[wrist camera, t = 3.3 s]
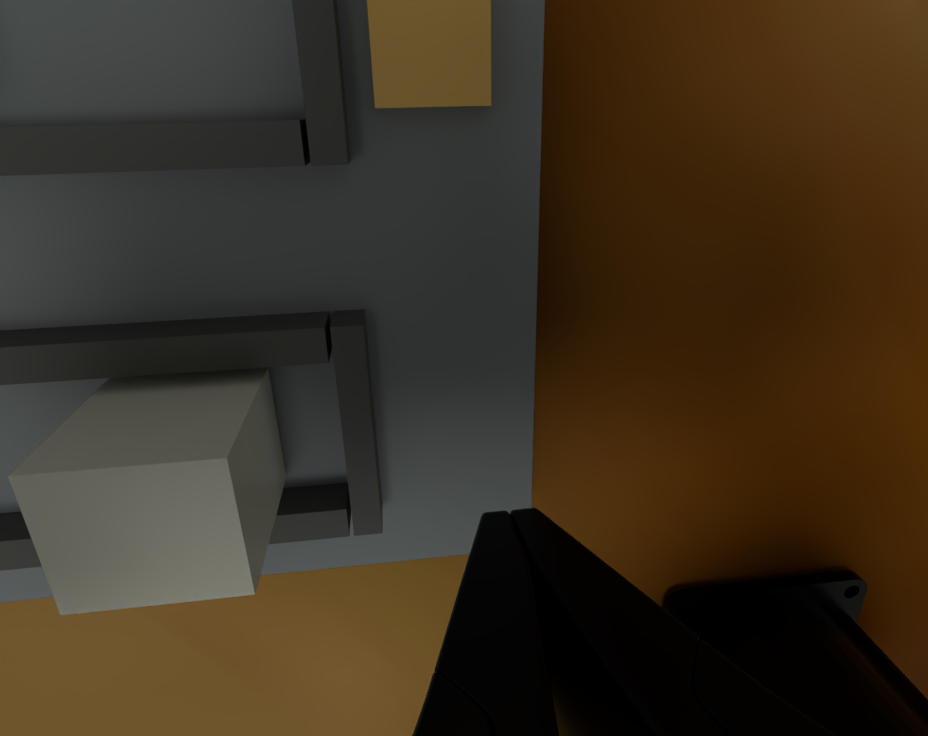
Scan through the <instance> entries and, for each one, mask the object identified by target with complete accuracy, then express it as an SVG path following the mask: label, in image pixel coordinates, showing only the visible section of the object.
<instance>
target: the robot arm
mask: <svg viewBox="0 0 928 736" xmlns="http://www.w3.org/2000/svg"><path fill="white" fill-rule="evenodd" d="M866 590H867V585H866V583H865V582H864V581H863V580H862V579H861V578H860V577H859V576H858V575H857V574H856V573H855V572H853V571H838V572H829V573H821V574H812V575H803V576H794V577H786V578H777V579H768V580H759V581H751V582H742V583H733V584H724V585H716V586H707V587H698V588H689V589H681V590H677V591H675V592H673V593H671V594H670V595H669V596H668V597H667V598H666V600H665V603H664V609H663V608H662V607H661V606H659V605H658V604H657V603H656V602H654V601H653V600H652V599H651V598H649V597H648V596H647V595H646V594H644V593H643V592H642V591H640V590H639V589H638V588H637V587H635V586H634V585H633V584H632V583H630V582H629V581H628V580H627V579H625V578H624V577H623V576H621V575H620V574H619V573H618V572H616V571H615V570H614V569H613V568H611V567H610V566H609V565H608V564H606V563H605V562H604V561H603V560H601V559H600V558H599V557H597V556H596V555H595V554H594V553H592V552H591V551H590V550H589V549H587V548H586V547H585V546H584V545H582V544H581V543H580V542H578V541H577V540H576V539H575V538H573V537H572V536H571V535H570V534H568V533H567V532H566V531H565V530H563V529H562V528H561V527H559V526H558V525H557V524H556V523H554V522H553V521H552V520H551V519H549V518H548V517H547V516H546V515H544V514H543V513H542V512H540V511H539V510H538V509H536V508H525V509H515V510H512V511H511V512H510V514H509V512H507V511H493V512H485V513H483V514H482V516H481V518H480V522H479V525H478V528H477V532H476V535H475V538H474V541H473V545H472V548H471V551H470V555H469V558H468V561H467V565H466V568H465V571H464V574H463V578H462V581H461V584H460V588H459V591H458V594H457V598H456V601H455V604H454V607H453V611H452V614H451V617H450V621H449V624H448V627H447V631H446V634H445V637H444V640H443V644H442V647H441V650H440V654H439V657H438V660H437V664H436V667H435V673H434V674H433V676H432V679H431V682H430V685H429V689H428V692H427V695H426V698H425V701H424V704H423V707H422V710H421V713H420V716H419V719H418V721H417V724H416V727H415V730H414V733H413V735H412V736H928V699H927V698H926V697H925V696H924V695H923V694H922V693H921V692H920V691H919V690H918V689H917V688H916V687H915V686H914V684H913V683H912V682H911V681H910V680H909V679H908V678H907V677H906V676H905V675H904V674H903V673H902V672H901V671H900V670H899V668H898V667H897V666H896V665H895V664H894V663H893V662H892V661H891V660H890V659H889V658H888V657H887V656H886V655H885V653H884V652H883V651H882V650H881V649H880V648H879V647H878V646H877V645H876V644H875V643H874V642H873V641H872V640H871V638H870V637H869V636H868V635H867V634H866V633H865V632H864V631H863V630H862V629H861V628H860V627H859V626H858V625H857V623H856V622H857V619H858V616H859V613H860V609H861V606H862V603H863V600H864V596H865V593H866ZM682 606H683V607H682Z"/></svg>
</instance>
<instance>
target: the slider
mask: <svg viewBox="0 0 928 736" xmlns="http://www.w3.org/2000/svg"><path fill="white" fill-rule="evenodd" d="M8 478H9V481H10V483H11V486H12V489H13V491H14V494H15V496H16V499H17V502H18V504H19V507H20V510H21V512H22V515H23V518H24V520H25V523H26V526H27V528H28V531H29V533H30V536H31V539H32V541H33V544H34V547H35V549H36V552H37V555H38V557H39V560H40V563H41V565H42V568H43V570H44V573H45V576H46V578H47V581H48V584H49V586H50V589H51V592H52V594H53V597H54V600H55V602H56V605H57V607H58V610H59V613H60V615H68V614H78V613H87V612H96V611H106V610H115V609H125V608H134V607H143V606H153V605H162V604H172V603H181V602H190V601H200V600H209V599H218V598H228V597H237V596H247V595H255V593H256V589H257V585H258V582H259V578H260V574H261V570H262V567H263V563H264V559H265V555H266V551H267V548H268V544H269V540H270V536H271V533H272V529H273V525H274V521H275V518H276V514H277V510H278V506H279V503H280V499H281V495H282V491H283V487H284V484H285V480H286V472H285V465H284V459H283V453H282V447H281V441H280V435H279V429H278V423H277V416H276V410H275V404H274V398H273V392H272V386H271V380H270V374H269V368H268V367H264V368H249V369H235V370H220V371H205V372H190V373H175V374H160V375H146V376H131V377H116V378H109V379H108V380H107V381H106V382H105V383H104V384H103V385H102V386H101V387H100V388H99V389H98V390H97V391H96V392H95V393H94V394H93V395H92V396H91V397H90V398H89V399H88V400H87V401H85V402H84V403H83V404H82V405H81V406H80V407H79V408H78V409H77V410H76V411H75V412H74V413H73V414H72V415H71V416H70V417H69V418H68V419H67V420H66V421H65V422H64V423H63V424H62V425H61V426H60V427H58V428H57V429H56V430H55V431H54V432H53V433H52V434H51V435H50V436H49V437H48V438H47V439H46V440H45V441H44V442H43V443H42V444H41V445H40V446H39V447H38V448H37V449H36V450H35V451H34V452H33V453H31V454H30V455H29V456H28V457H27V458H26V459H25V460H24V461H23V462H22V463H21V464H20V465H19V466H18V467H17V468H16V469H15V470H14V471H13V472H12V473H11V474H10V475H9V476H8Z"/></svg>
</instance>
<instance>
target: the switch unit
mask: <svg viewBox="0 0 928 736" xmlns="http://www.w3.org/2000/svg"><path fill="white" fill-rule="evenodd" d="M544 15H545V0H0V602H10V601H19V600H29V599H39V598H48V597H53V594H52V592H51V589H50V586H49V584H48V581H47V578H46V576H45V573H44V570H43V568H42V565H41V563H40V560H39V557H38V555H37V552H36V549H35V547H34V544H33V541H32V539H31V536H30V533H29V531H28V528H27V526H26V523H25V520H24V518H23V515H22V512H21V510H20V507H19V504H18V502H17V499H16V496H15V494H14V491H13V489H12V486H11V483H10V481H9V478H8V476H9V475H10V474H11V473H12V472H13V471H14V470H15V469H16V468H17V467H18V466H19V465H20V464H21V463H22V462H23V461H24V460H25V459H26V458H27V457H28V456H29V455H30V454H31V453H33V452H34V451H35V450H36V449H37V448H38V447H39V446H40V445H41V444H42V443H43V442H44V441H45V440H46V439H47V438H48V437H49V436H50V435H51V434H52V433H53V432H54V431H55V430H56V429H57V428H58V427H60V426H61V425H62V424H63V423H64V422H65V421H66V420H67V419H68V418H69V417H70V416H71V415H72V414H73V413H74V412H75V411H76V410H77V409H78V408H79V407H80V406H81V405H82V404H83V403H84V402H85V401H87V400H88V399H89V398H90V397H91V396H92V395H93V394H94V393H95V392H96V391H97V390H98V389H99V388H100V387H101V386H102V385H103V384H104V383H105V382H106V381H107V380H108V379H109V378H116V377H131V376H146V375H160V374H175V373H190V372H205V371H220V370H235V369H249V368H264V367H268V368H269V374H270V380H271V386H272V392H273V398H274V404H275V410H276V416H277V423H278V429H279V435H280V441H281V447H282V453H283V459H284V465H285V472H286V480H285V484H284V487H283V491H282V495H281V499H280V503H279V506H278V510H277V514H276V518H275V521H274V525H273V529H272V533H271V536H270V540H269V544H268V548H267V551H266V555H265V559H264V563H263V567H262V570H261V574H260V576H261V575H271V574H280V573H290V572H300V571H309V570H319V569H329V568H338V567H348V566H358V565H367V564H377V563H387V562H396V561H406V560H416V559H425V558H435V557H445V556H454V555H464V554H470V551H471V548H472V545H473V541H474V538H475V535H476V532H477V528H478V525H479V522H480V518H481V516H482V514H483V513H485V512H493V511H507V512H509V514H510V512H511V511H512V510H515V509H525V508H531V506H532V468H533V431H534V393H535V355H536V317H537V279H538V242H539V204H540V166H541V128H542V90H543V52H544Z"/></svg>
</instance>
